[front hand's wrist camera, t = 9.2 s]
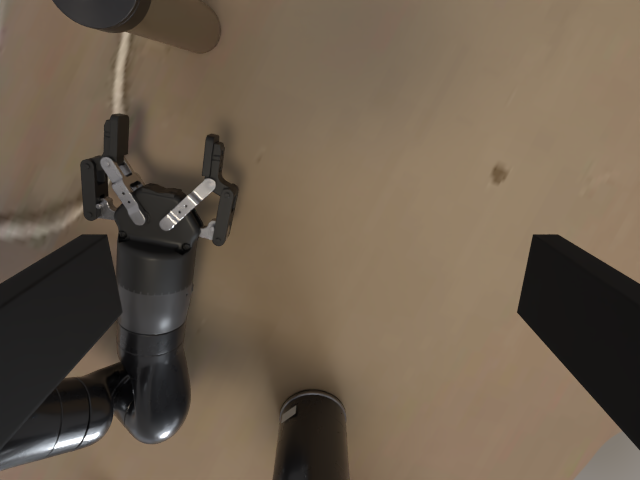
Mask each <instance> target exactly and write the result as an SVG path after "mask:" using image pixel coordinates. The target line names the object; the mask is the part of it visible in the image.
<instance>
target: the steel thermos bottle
mask: <svg viewBox="0 0 640 480" xmlns="http://www.w3.org/2000/svg"><path fill="white" fill-rule="evenodd" d="M125 32H128V33H131V34H134V35H138V36H141V37H144V38H148V39H151V40H154V41H158V42H161V43H164V44H168V45H171V46H174V47H178V48H181V49H184V50H188V51H191V52H194V53H206V52H208V51H210V50H212V49H213V48H214V47H215V46H216V44H217V43H218V41H219V38H220V33H221V28H220V22H219V19H218V17H217V15H216V14H215V12H214V11H213V10H212V9H211V8H210V7H209V6H207V5H206V4H205V3H203V2H202V1H201V0H151V4H150V8H149V10H148V12H147V14H146V16H145V17H144V19H143V20H142V21H141V22H140V23H139V24H138V25H137V26H136V27H134V28H132V29H130V30H128V31H125Z"/></svg>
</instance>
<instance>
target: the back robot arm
mask: <svg viewBox="0 0 640 480" xmlns="http://www.w3.org/2000/svg"><path fill="white" fill-rule="evenodd" d="M128 136H129V117H128V115H124V114H112V115H111V117H110V120H106V122H105V125H104V153H103V155H102V156H96V157H93V158H90V159H85V160H83V161H82V162H81V164H80V166H81V181H82V196H83V210H84V216H85V218H86V219H87V220H90V221H93V220H95V219H97V218H104V219H111V220H115V222H116V224H117V226H118V229H119V234H118V240H117V265H116V281H117V286H118V291H119V296H120V301H121V306H122V310H123V313H122V314H121V315H120V316H119V317H118V319H117V353H118V357H119V359H120V361H121V362H118V363H116V364H113V365H110V366H108V367H105V368H102V369H99V370H97V371H94V372H92V373H90V374H87V375H85V376H82V377H71V378H64V379H63V380H62V381H61V382H60V384H59V385H58V386H57V387H56V388H55V389H54V390H53V391H52V393H51V394H50V395H49V396H48V397H47V398H46V399H45V400H44V402H43V403H42V404H41V405H40V406H39V407H38V408H37V409H36V411H35V412H34V413H33V414H32V415H31V416H30V417H29V418H28V420H27V421H26V422H25V423H24V424H23V425H22V426H21V427H20V429H19V430H18V431H17V432H16V433H15V434H14V435H13V436H12V438H11V439H10V440H9V441H8V442H7V443H6V444H5V445H4V446H3V448H2V449H1V450H0V471H2V470H6V469H9V468H12V467H16V466H19V465H23V464H27V463H31V462H34V461H38V460H42V459H45V458H49V457H53V456H56V455H60V454H64V453H67V452H71V451H75V450H78V449H82V448H85V447H87V446H90V445H92V444H94V443H96V442H97V441H99V440H100V439H101V438H102V437H103V436H104V435H105V434H106V432H107V431H108V429H109V427H110V425H111V422H112V418H113V414H114V415H115V416H116V417H117V418H118V420H119V421H120V422H121V423H122V424H123V425H124V427H125V428H126V429H127V430H128V431H129V432H130V434H131V435H132V436H133V437H134V438H135V439H137V440H138V441H140V442H142V443H145V444H158V443H161V442H163V441H166V440H167V439H169V438H170V437H172V436H173V435H174V434H175V433H176V432H177V431H178V430H179V429H180V427H181V426H182V424H183V423H184V421H185V419H186V417H187V414H188V411H189V407H190V401H191V388H190V381H189V374H188V368H187V362H186V358H185V354H184V349H183V342H184V335H185V326H186V316H187V312H188V308H189V305H190V300H191V293H192V291H193V273H194V264H195V255H196V246H197V240H198V237H203V238H206V239H210V240H212V241H213V243H214V244H215V245H216V246H221V245H223V244H224V242H225V241H226V239H227V238H228V236H229V234H230V229H231V225H232V220H233V215H234V210H235V205H236V201H237V196H238V191H239V189H238V186H237V185H236V184H231V183H229V182H228V181H226V180H225V179H224V178H223V177H222V165H223V157H224V149H225V148H224V144H223V143H222V142H219V135H215V134H209V135H207V137H206V142H205V152H204V161H203V171H202V176H205V180H204V181H203V182H202V183H201V184H200V185H199V186H198V187H197V188H195V189H194V190H193V191H192V192H191V193H190V194H189V195H188V196H187V195H186V194H184V193H183V192H181V189H176V188H164V187H162V186H159V185H157V184H152V183H150V184H148V185H145V184H144V182H143V181H142V179H141V177H140V176H139V175H138V174H137V173H135V172H134V171H133V169H132V168H131V166H130V165H129V163H128V161H127V160H126V158H125V157H124V155H126V154H128ZM107 175H108V176H107ZM108 177H109V178H110V180H111V181H112V188H113V190H114V191H115V193H116V194H117V196H118V197H119V199H120V200H121V201H122V204H121V205H120V206H119V207H118V208H116V207H115V206H114V205H113V199H112V198H110V197H108ZM130 187H131V188H132V190H133V191H134V192H132V190H131V189H130ZM211 192H214V193H216V194H218V195H219V196H220V202H219V207H218V212H217V217H216V218H214V219H212V220H211V221H210V223H209V224H208V225H207V226H203V222H202V221H201V219H200V217H199V215H198V214H197V212H196V210H195V208H194V207H195V206H197V205H198V204H199V203H200V202H201V201H202V200H203V199H204V198H205V197H206V196H207V195H208V194H210V193H211ZM273 480H350V474H349V461H348V447H347V432H346V412H345V409H344V406H343V405H342V403H341V402H340V401H339V400H338V399H337V398H336V397H334V396H333V395H331V394H329V393H326V392H323V391H317V390H308V391H303V392H299V393H297V394H295V395H293V396H291V397H290V398H289V399H288V400H287V401H286V402H285V403H284V404H283V406H282V408H281V412H280V426H279V433H278V441H277V449H276V457H275V465H274V473H273Z"/></svg>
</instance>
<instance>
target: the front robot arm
mask: <svg viewBox="0 0 640 480" xmlns="http://www.w3.org/2000/svg"><path fill="white" fill-rule="evenodd" d="M122 313H123V310H122V306H121V301H120V296H119V291H118V286H117V281H116V276H115V271H114V267H113V262H112V257H111V252H110V247H109V242H108V237H107V235H81V236H79V237H77V238H76V239H74V240H72V241H71V242H69V243H67V244H66V245H64V246H62V247H61V248H59V249H57V250H56V251H54V252H52V253H51V254H49V255H47V256H46V257H44V258H42V259H41V260H39V261H37V262H36V263H34V264H32V265H31V266H29V267H27V268H26V269H24V270H23V271H21V272H19V273H18V274H16V275H14V276H13V277H11V278H9V279H8V280H6V281H4V282H3V283H1V284H0V450H1V449H2V448H3V446H4V445H5V444H6V443H7V442H8V441H9V440H10V439H11V438H12V436H13V435H14V434H15V433H16V432H17V431H18V430H19V429H20V427H21V426H22V425H23V424H24V423H25V422H26V421H27V420H28V418H29V417H30V416H31V415H32V414H33V413H34V412H35V411H36V409H37V408H38V407H39V406H40V405H41V404H42V403H43V402H44V400H45V399H46V398H47V397H48V396H49V395H50V394H51V393H52V391H53V390H54V389H55V388H56V387H57V386H58V385H59V384H60V382H61V381H62V380H63V379H64V378H65V377H66V376H67V375H68V373H69V372H70V371H71V370H72V369H73V368H74V367H75V366H76V364H77V363H78V362H79V361H80V360H81V359H82V358H83V357H84V356H85V354H86V353H87V352H88V351H89V350H90V349H91V348H92V347H93V345H94V344H95V343H96V342H97V341H98V340H99V339H100V338H101V336H102V335H103V334H104V333H105V332H106V331H107V330H108V329H109V327H110V326H111V325H112V324H113V323H114V322H115V321H116V320H117V318H118V317H119V316H120V315H121V314H122ZM517 313H518V314H519V315H520V316H521V317H522V318H523V320H524V321H525V322H526V323H527V324H528V325H529V326H530V327H531V329H532V330H533V331H534V332H535V333H536V334H537V335H538V336H539V338H540V339H541V340H542V341H543V342H544V343H545V344H546V345H547V347H548V348H549V349H550V350H551V351H552V352H553V353H554V354H555V356H556V357H557V358H558V359H559V360H560V361H561V362H562V363H563V364H564V366H565V367H566V368H567V369H568V370H569V371H570V372H571V373H572V375H573V376H574V377H575V378H576V379H577V380H578V381H579V382H580V384H581V385H582V386H583V387H584V388H585V389H586V390H587V391H588V393H589V394H590V395H591V396H592V397H593V398H594V399H595V400H596V402H597V403H598V404H599V405H600V406H601V407H602V408H603V409H604V411H605V412H606V413H607V414H608V415H609V416H610V417H611V418H612V420H613V421H614V422H615V423H616V424H617V425H618V426H619V427H620V429H621V430H622V431H623V432H624V433H625V434H626V435H627V436H628V438H629V439H630V440H631V441H632V442H633V443H634V444H635V445H636V446H637V448H638V449H639V450H640V284H639V283H637V282H636V281H634V280H632V279H631V278H629V277H627V276H626V275H624V274H622V273H621V272H619V271H617V270H616V269H614V268H613V267H611V266H609V265H608V264H606V263H604V262H603V261H601V260H599V259H598V258H596V257H594V256H593V255H591V254H589V253H588V252H586V251H584V250H583V249H581V248H579V247H578V246H576V245H574V244H573V243H571V242H569V241H568V240H566V239H564V238H563V237H561V236H559V235H533V237H532V242H531V247H530V252H529V257H528V262H527V267H526V271H525V276H524V281H523V286H522V291H521V296H520V301H519V306H518V310H517Z"/></svg>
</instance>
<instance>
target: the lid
mask: <svg viewBox="0 0 640 480" xmlns="http://www.w3.org/2000/svg"><path fill="white" fill-rule="evenodd" d="M53 2H54V3H55V4H56V6H57V7H58V8H59V9H60V10H61V11H62V12H63V13H64V14H65V15H66V16H67V17H69V18H70V19H72V20H73V21H75V22H77V23H79V24H81V25H83V26H86V27H90V28H93V29H97V30H100V31H104V32H109V33H121V32H125V31H128V30H130V29H132V28H134V27H136V26H137V25H138V24H139V23H140V22H141V21H142V20H143V19H144V17H145V16H146V14H147V12H148V10H149V8H150V4H151V0H53Z"/></svg>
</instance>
